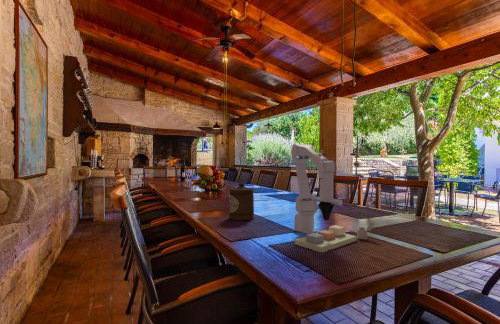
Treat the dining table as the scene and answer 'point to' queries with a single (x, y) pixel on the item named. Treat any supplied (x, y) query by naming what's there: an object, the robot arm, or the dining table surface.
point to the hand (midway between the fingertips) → (326, 219)
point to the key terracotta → (327, 234)
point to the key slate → (314, 238)
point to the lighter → (364, 231)
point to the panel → (327, 242)
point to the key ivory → (337, 230)
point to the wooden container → (241, 203)
